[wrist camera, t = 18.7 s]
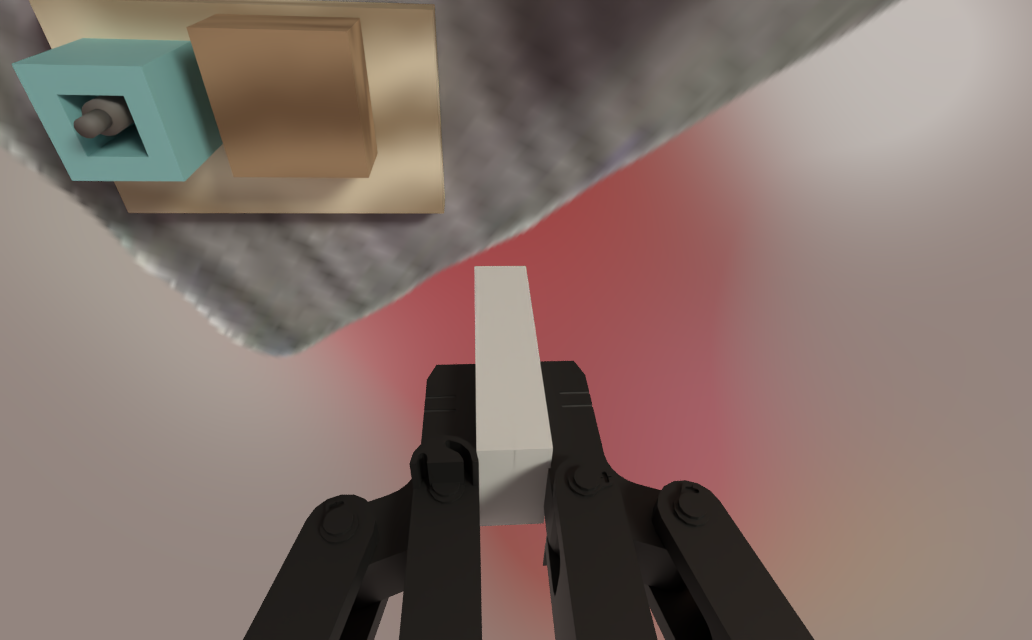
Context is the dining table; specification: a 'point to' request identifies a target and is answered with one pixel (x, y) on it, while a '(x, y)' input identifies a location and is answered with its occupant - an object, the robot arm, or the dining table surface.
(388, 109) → the base board
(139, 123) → the teal hollow cube
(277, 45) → the block
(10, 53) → the dining table surface
